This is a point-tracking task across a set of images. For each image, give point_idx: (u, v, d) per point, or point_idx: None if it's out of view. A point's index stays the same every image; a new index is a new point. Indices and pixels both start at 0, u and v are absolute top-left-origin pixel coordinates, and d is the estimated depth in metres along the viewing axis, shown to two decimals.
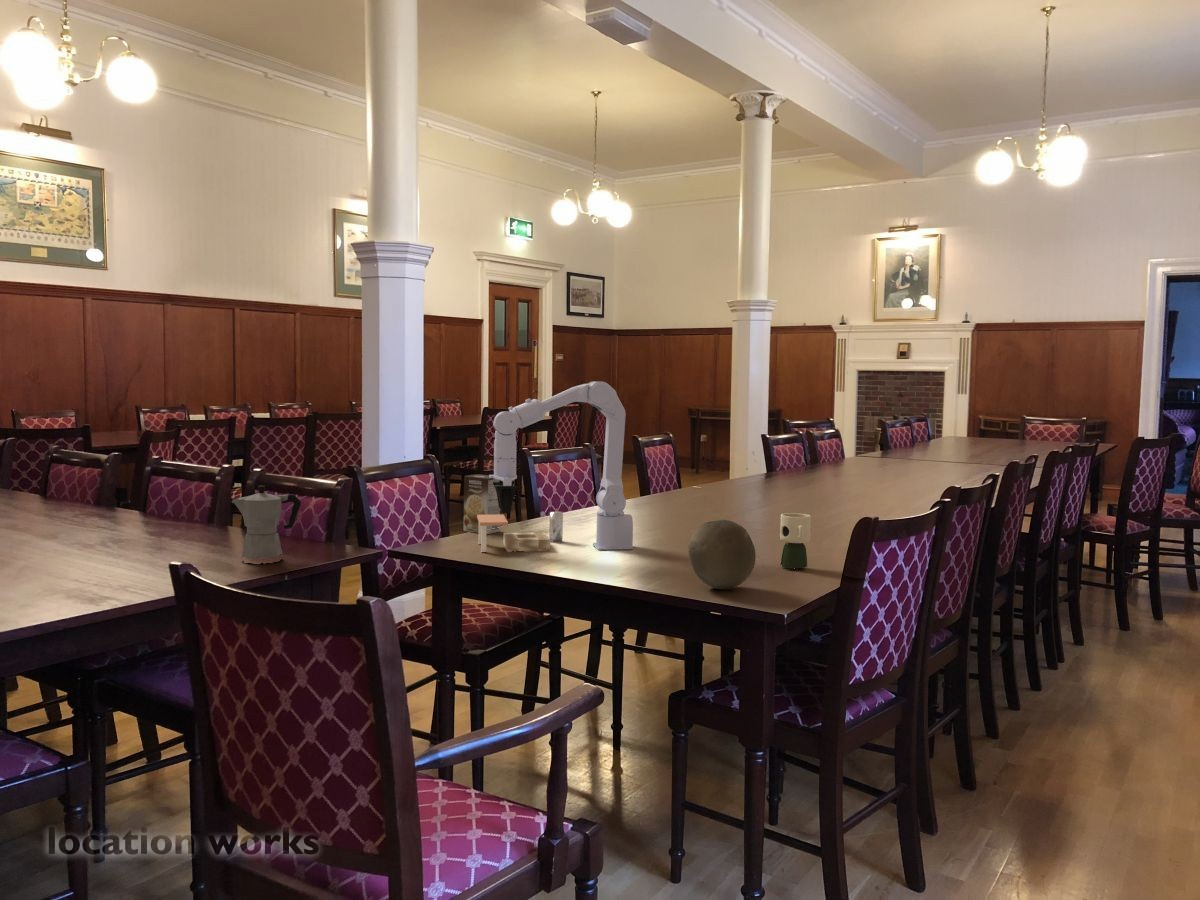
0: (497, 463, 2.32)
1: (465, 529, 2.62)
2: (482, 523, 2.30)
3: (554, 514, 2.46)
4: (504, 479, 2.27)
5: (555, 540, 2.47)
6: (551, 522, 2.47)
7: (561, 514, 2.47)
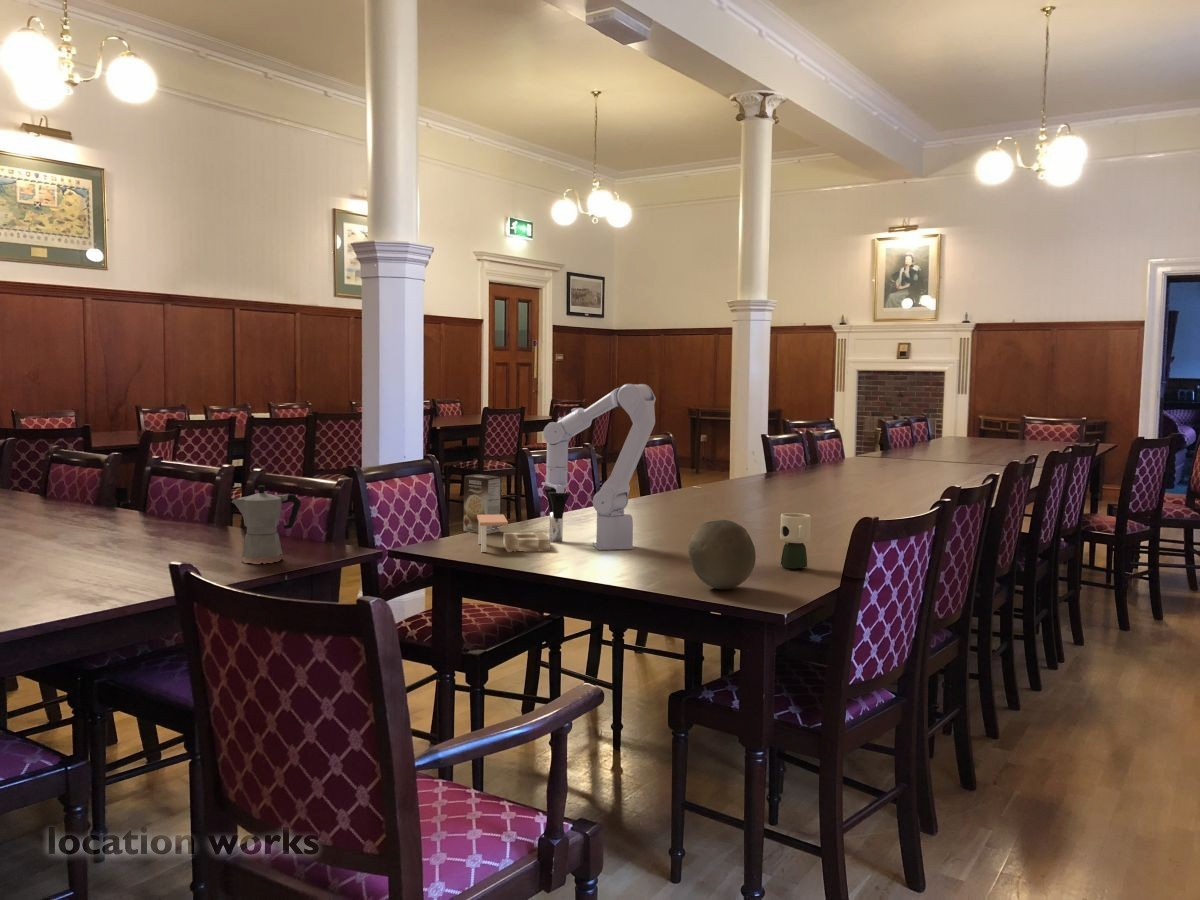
0: (550, 471, 2.45)
1: (465, 529, 2.62)
2: (482, 523, 2.30)
3: None
4: (557, 487, 2.40)
5: (555, 540, 2.47)
6: (551, 522, 2.47)
7: None
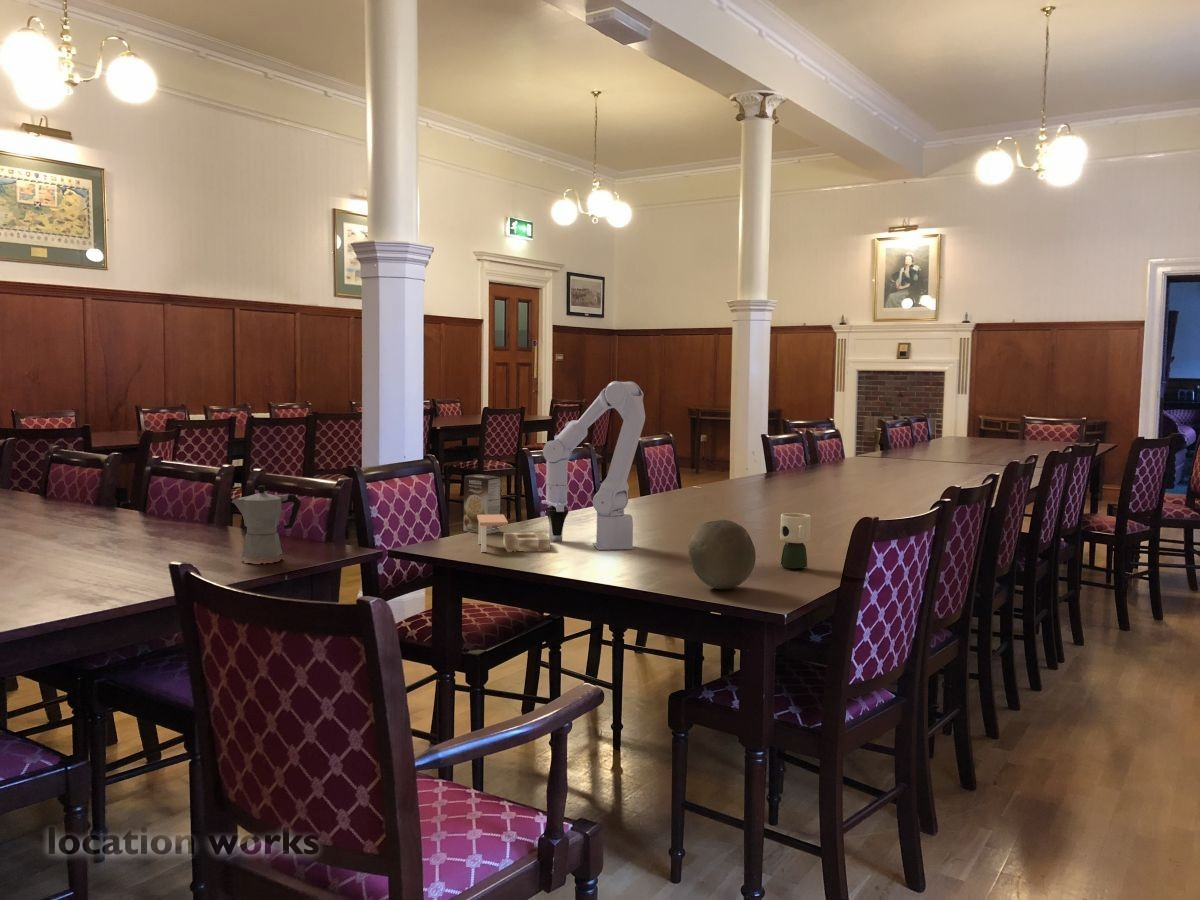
0: (549, 489, 2.45)
1: (465, 529, 2.62)
2: (482, 523, 2.30)
3: None
4: (557, 505, 2.41)
5: (555, 540, 2.47)
6: None
7: None
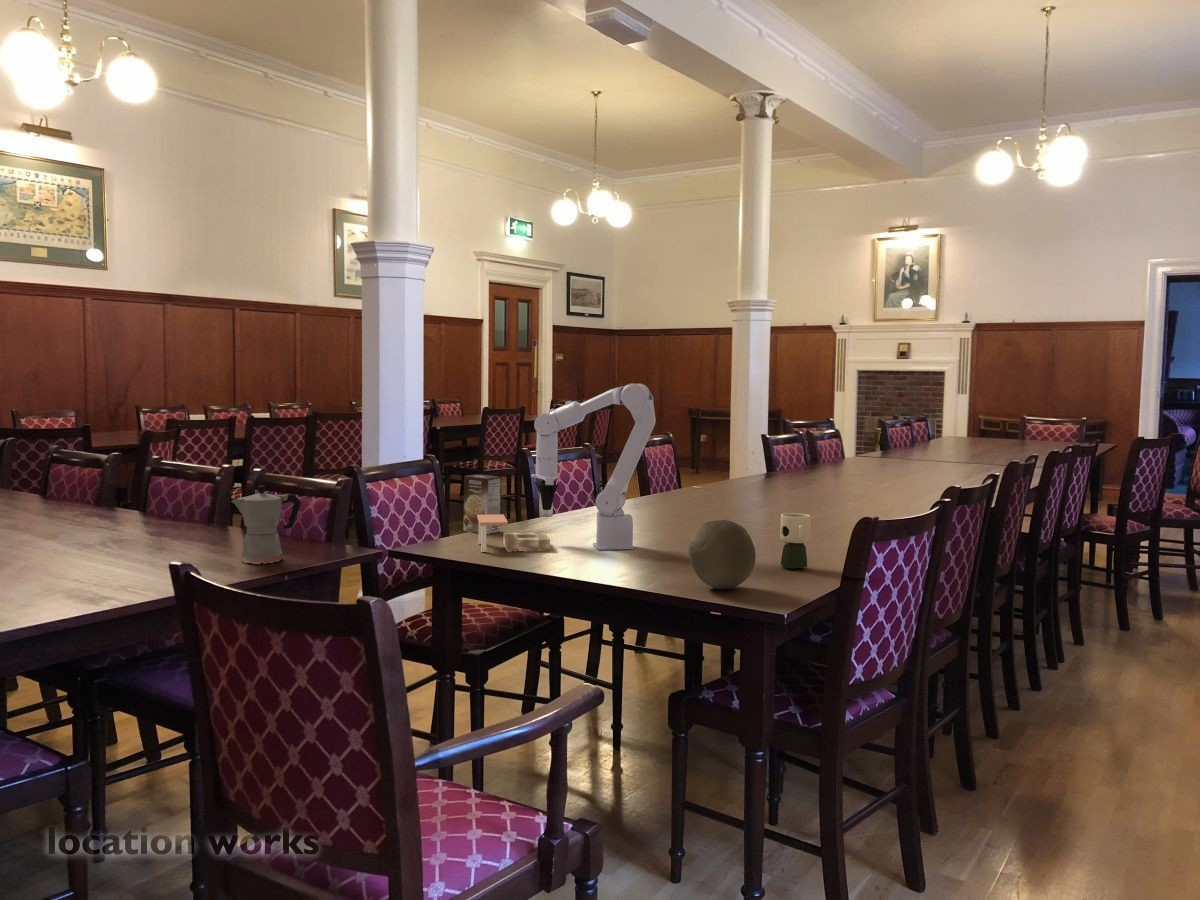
0: (539, 463, 2.41)
1: (465, 529, 2.62)
2: (482, 523, 2.30)
3: None
4: (546, 478, 2.37)
5: (545, 514, 2.43)
6: None
7: None
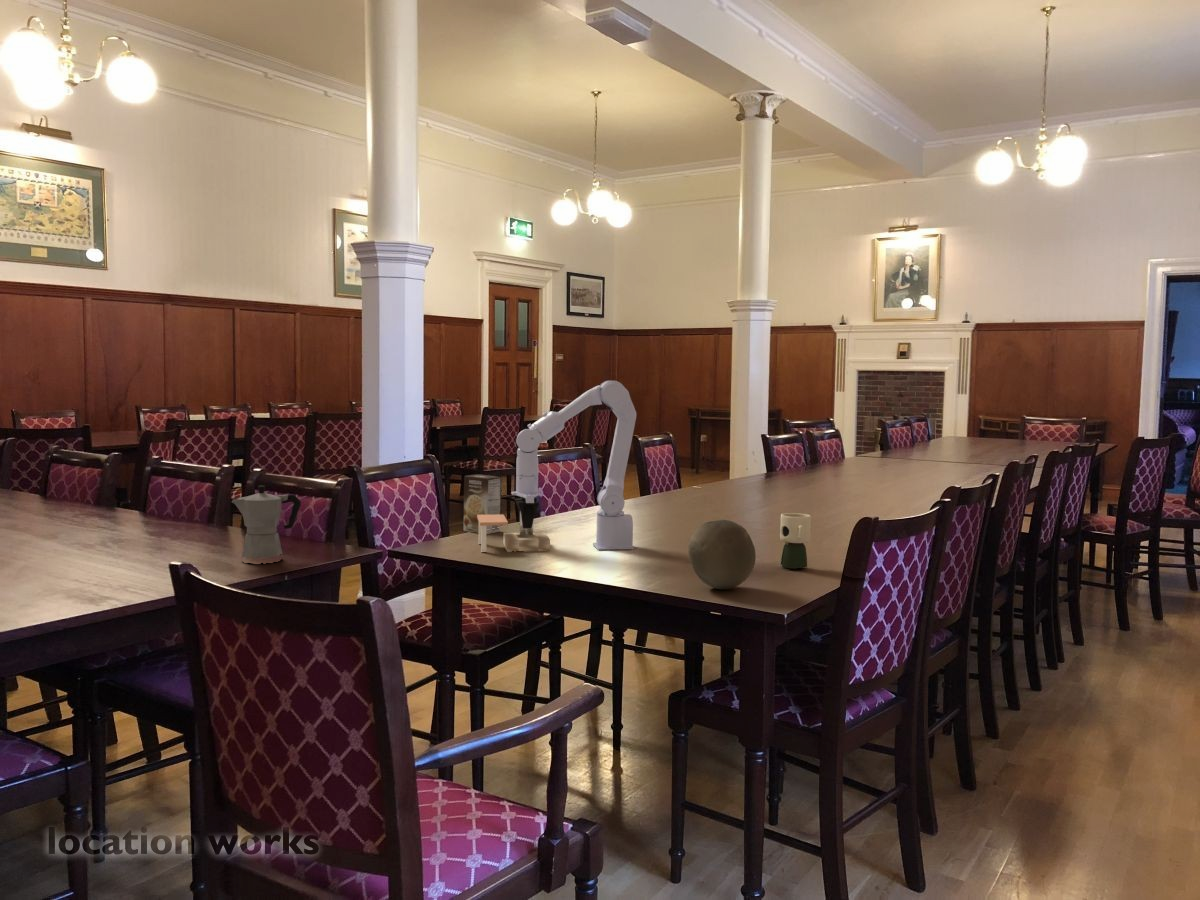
0: (519, 480, 2.35)
1: (465, 529, 2.62)
2: (482, 523, 2.30)
3: None
4: (527, 496, 2.31)
5: (526, 533, 2.37)
6: None
7: None
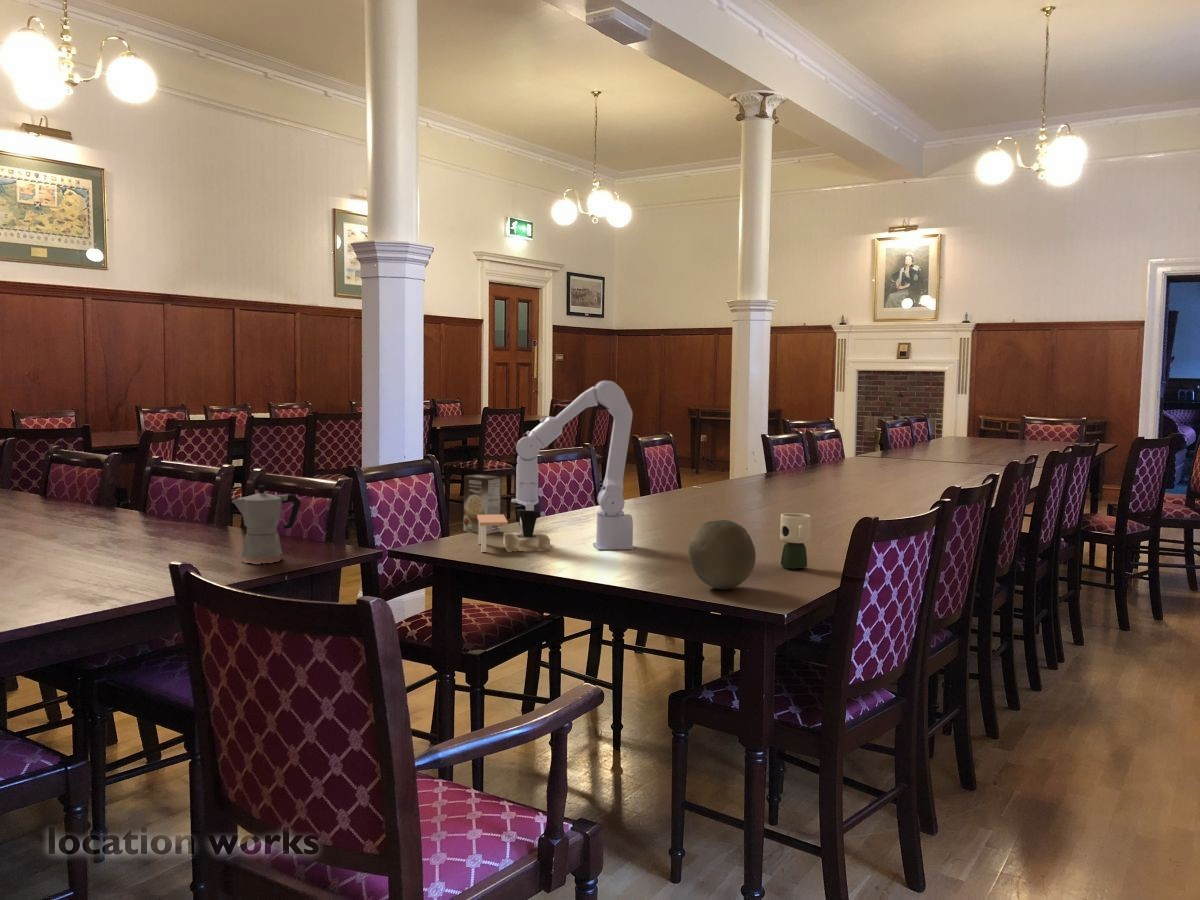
0: (519, 488, 2.36)
1: (465, 529, 2.62)
2: (482, 523, 2.30)
3: None
4: (527, 504, 2.31)
5: None
6: None
7: None
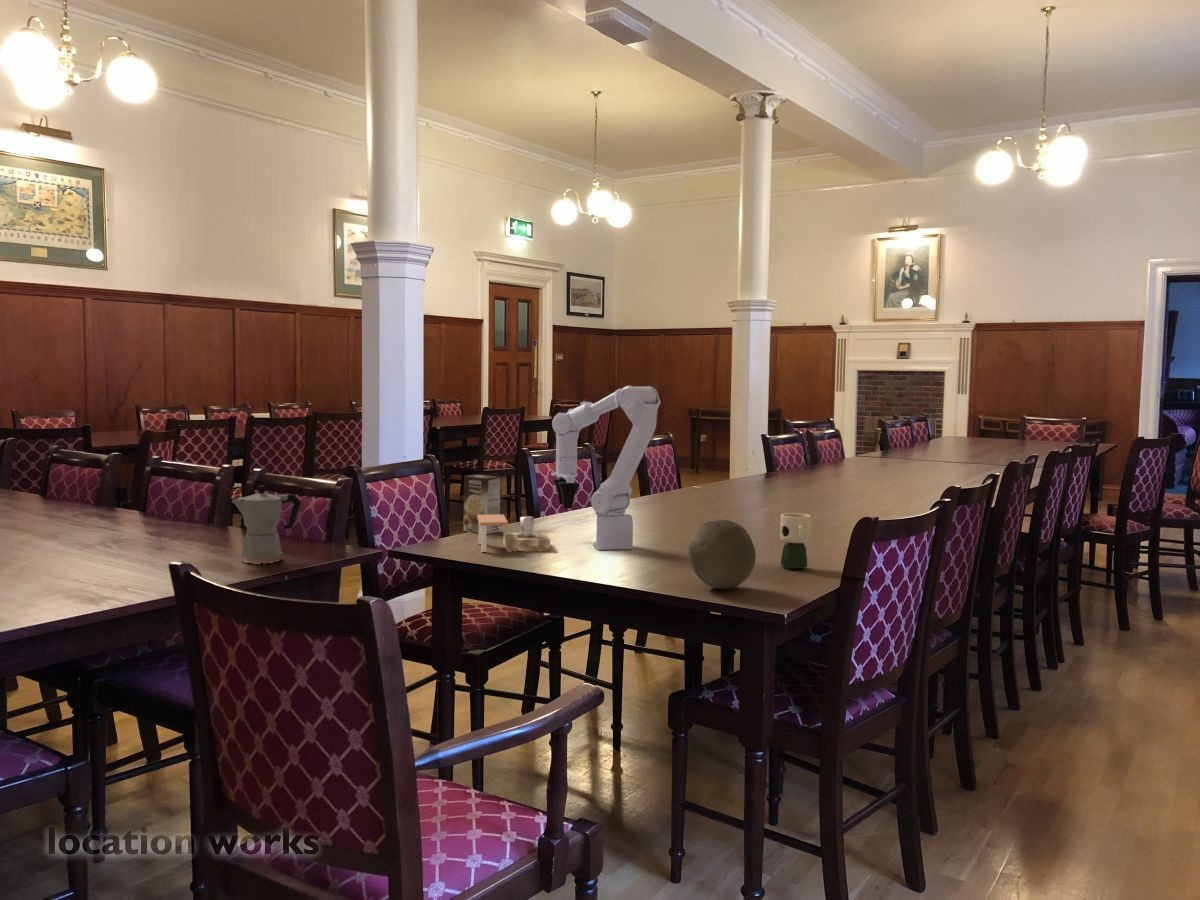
0: (559, 461, 2.47)
1: (465, 529, 2.62)
2: (482, 523, 2.30)
3: (525, 519, 2.37)
4: (567, 476, 2.42)
5: None
6: (521, 527, 2.37)
7: (532, 519, 2.38)
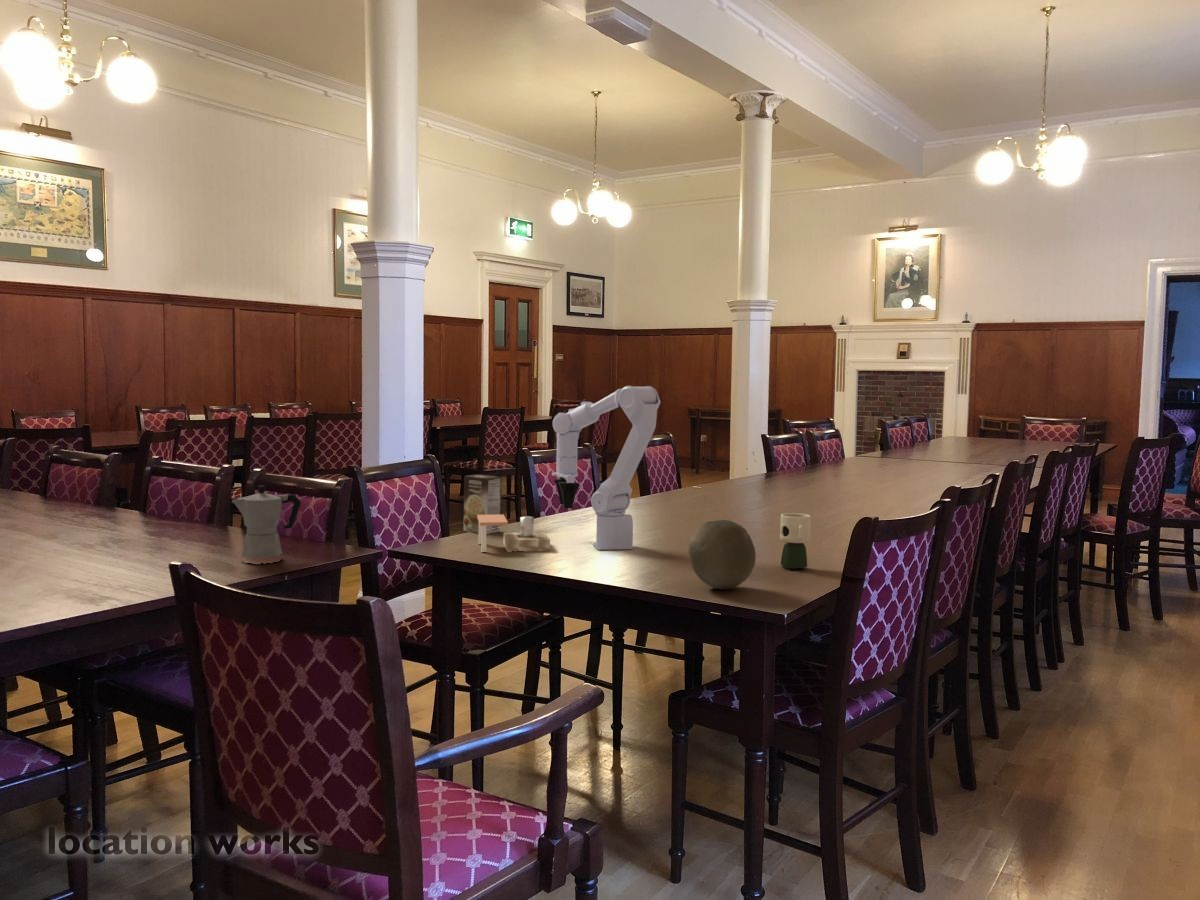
0: (560, 461, 2.47)
1: (465, 529, 2.62)
2: (482, 523, 2.30)
3: (525, 519, 2.37)
4: (568, 476, 2.43)
5: None
6: (522, 527, 2.37)
7: (532, 519, 2.38)
